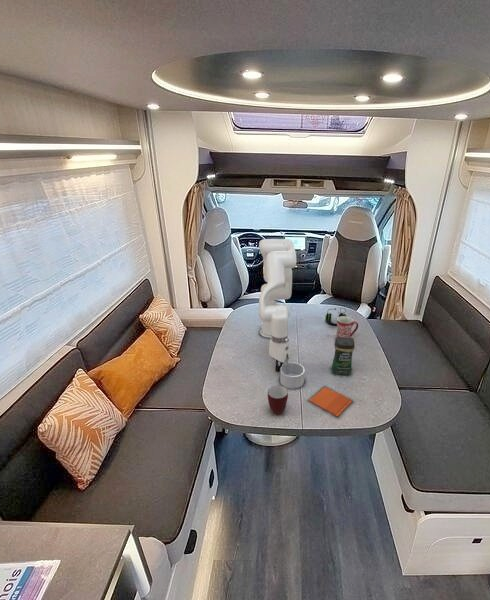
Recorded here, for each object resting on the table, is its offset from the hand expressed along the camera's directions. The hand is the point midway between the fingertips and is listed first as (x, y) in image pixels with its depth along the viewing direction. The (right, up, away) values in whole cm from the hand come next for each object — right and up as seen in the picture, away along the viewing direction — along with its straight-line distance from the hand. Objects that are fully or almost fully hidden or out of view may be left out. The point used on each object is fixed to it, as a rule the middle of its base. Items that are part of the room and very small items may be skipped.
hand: (278, 370), depth 151 cm
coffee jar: (+31, -1, +4) cm, 31 cm away
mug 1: (0, -11, -21) cm, 24 cm away
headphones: (+36, +19, +53) cm, 67 cm away
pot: (+6, -4, -4) cm, 8 cm away
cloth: (+23, -10, -16) cm, 30 cm away
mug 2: (+38, +10, +32) cm, 51 cm away
